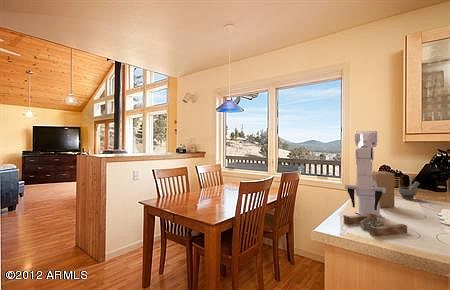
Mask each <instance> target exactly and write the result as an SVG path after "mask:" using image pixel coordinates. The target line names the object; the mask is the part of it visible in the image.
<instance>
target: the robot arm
mask: <svg viewBox="0 0 450 290" xmlns="http://www.w3.org/2000/svg"><path fill="white" fill-rule="evenodd" d="M354 143H355V146H356V147H357V148H356V149H355V164H356V182H355V185H353V184H344V190H347V193H348V195H349V197H350V200H351V204H352V205H351V206H352V208H355V207H356V206H355V205H356V201H355V195H356V197H358V210H357V211H354V213H355V214H358V215H366V214H375V215H377V217H379V216H382V214H381V209H380V208H381V207H380V202H379V200H380V198H381V196H382V193H386V188H379V187H377V183H376V182H375V181H373V180H372V171H373V161H374V159H375V157H374V153H375V152H374V148H376V147H377V145H378V130H367V131H365V130H360V131H355V132H354ZM372 185H373V186H372Z"/></svg>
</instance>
